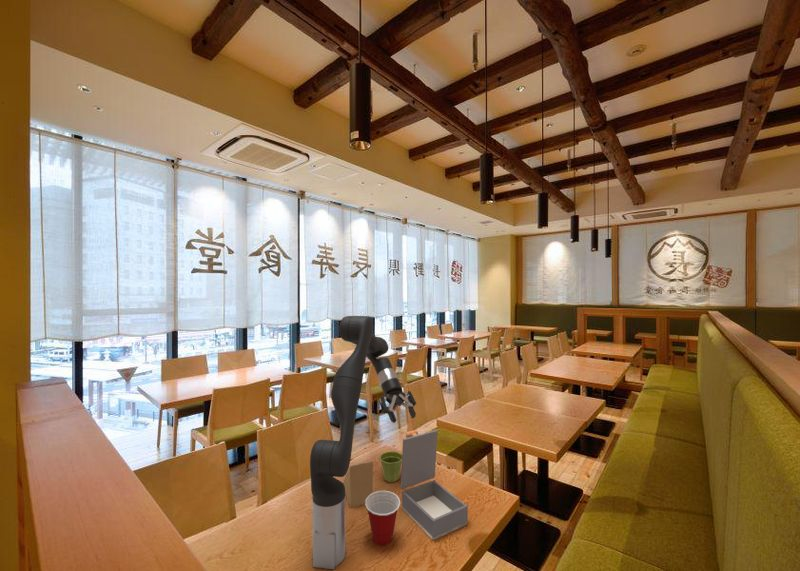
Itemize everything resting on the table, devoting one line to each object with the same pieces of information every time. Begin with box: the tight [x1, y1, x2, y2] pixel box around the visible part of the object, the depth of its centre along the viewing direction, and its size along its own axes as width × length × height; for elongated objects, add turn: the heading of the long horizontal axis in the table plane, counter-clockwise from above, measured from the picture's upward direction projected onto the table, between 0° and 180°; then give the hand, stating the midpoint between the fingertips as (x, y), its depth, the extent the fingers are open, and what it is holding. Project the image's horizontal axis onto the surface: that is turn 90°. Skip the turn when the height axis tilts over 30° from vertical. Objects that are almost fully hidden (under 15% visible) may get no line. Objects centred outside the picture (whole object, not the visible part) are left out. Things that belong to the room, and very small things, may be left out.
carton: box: [401, 479, 469, 542], centre depth 122 cm, size 18×14×6 cm
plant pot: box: [379, 451, 402, 483], centre depth 145 cm, size 9×9×9 cm
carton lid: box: [400, 429, 439, 490], centre depth 131 cm, size 18×14×7 cm
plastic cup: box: [364, 490, 401, 546], centre depth 111 cm, size 11×11×12 cm
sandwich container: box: [342, 461, 374, 508], centre depth 135 cm, size 9×15×15 cm, turn 21°
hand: (404, 419), depth 137 cm, fingers open, 8 cm apart
